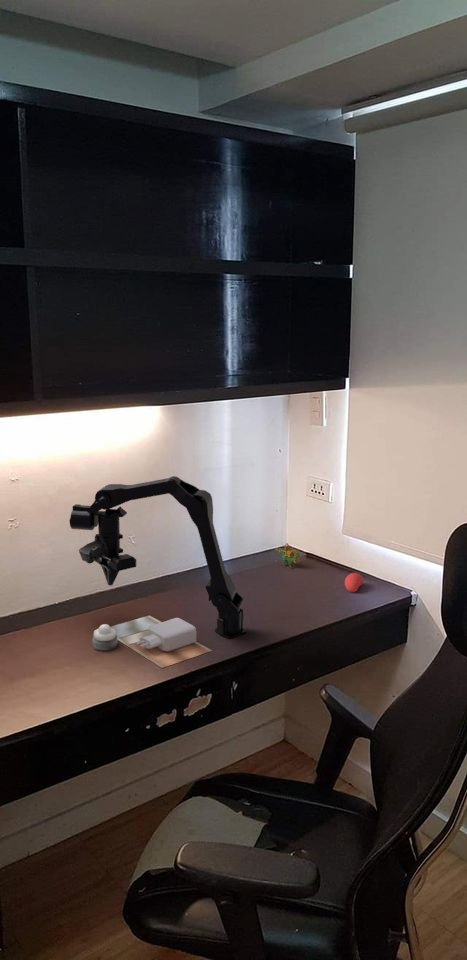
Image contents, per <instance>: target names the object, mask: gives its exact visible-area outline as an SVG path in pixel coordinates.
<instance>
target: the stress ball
mask: <svg viewBox="0 0 467 960" xmlns="http://www.w3.org/2000/svg"><path fill="white" fill-rule="evenodd" d="M345 577H346V578H345V579H344V586H345V588H346V590H347V591H348V592H350V593H355V592H357V591H358V589H359V588H360V587H361V586H363V584H364V578H363V576H362V575H361V574H360V573H357V572H352V573H349V574H348V575H347V576H345Z"/></svg>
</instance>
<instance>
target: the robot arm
mask: <svg viewBox="0 0 467 960" xmlns="http://www.w3.org/2000/svg"><path fill="white" fill-rule="evenodd" d="M167 494H169V495H170V496H172V497H173V498H174V499H175V500H176V501H177V503H178V504H180V505H181V506H183V507H184V508H186V511H187V513H188V515H189V517H190V519H191V521H192V523H194V526H195V527H196V528H197V532H198V535H199V539H200V543H201V546H202V550H203V553H204V558H205V561H206V565H207V569H208V572H209V576H210V577H209V578H210V579H209V580H208V582H207V584H206V585H205V590H206V592H207V594H208V595H207V596H208V602H210V601H211V604H212V605H213V607H215V608H216V609H217V613H218V614H217V618H216V628H214V632H216V633H217V634H220V635H221V636H223V637H225V638H227V639H232V638H235V637H238V636H241V635H244V634H247V630H246V629H244V609H242V606H243V603H244V601H245V599H244V598H243V597H242V595H240V594H239V592H237V589H236V586H235V585H234V582H233V580H232V578H231V576H230V575H229V573H228V572H227V570H226V569H225V568H226V567H225V564H224V563H225V562H224V560H223V556H222V552H221V549H220V546H219V545H220V544H219V541H218V537H217V533H216V529H215V526H214V504H213V496H212V494H211V493H210V492H208V491H207V490H204V489H199V488H198V487H196V486H195V485H193V484H191V483H189V482H186V481H184V480H182V479H181V478H180V477H178V476H170V477H167V478H162V479H155V480H152V481H145V482H140V483H135V484H122V483H121V484H120V483H109V484H106V485H105V486H103V487H102V488H100V489H99V490H97V491H96V493H95V496H94V501H93V503H92V504H91V505H82V504H77V503H76V504H74V505H73V506H72V509H71V513H70V518H69V527H70V528H71V529H72V530H81V531H83V530H84V531H93V530H94V529H95V528H97V527H98V530H97V531H98V533H97V534H96V533H95V536H94V540H93V541H91V542H89V543H86V544H85V545H84V546H82V547H81V548H78V553H79V555H80V558H81V560H82V561H83V562H85V563H87V564H88V565H89V564H93V563H94V562H95V563H97V564H98V565H99V566H100V567H101V568H102V571H103V574H104V576H105V577H104V578H105V580H106V584H107V585H108V586H113V585H114V582H115V581H116V579H117V576H118V575H119V573H120V571H125V570H129V569H133V568H136V567H137V559H136V558H135V557H134V556H133V555H131V554H129V553H125V554H123V553H124V548H121V540H122V539H124V537H123V536H124V534H122V533H121V532H120V530H121V529H120V528H121V527H120V518H124V517H125V516H126V515H128V512H127V511H126V510H125V509H124V508H123V507H121V506H120V505H123V504H125V503H127V502H130V501H134V500H140V499H146V498H152V497H156V496H162V495H167ZM118 506H119V507H118ZM115 507H117V508H115Z"/></svg>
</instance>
